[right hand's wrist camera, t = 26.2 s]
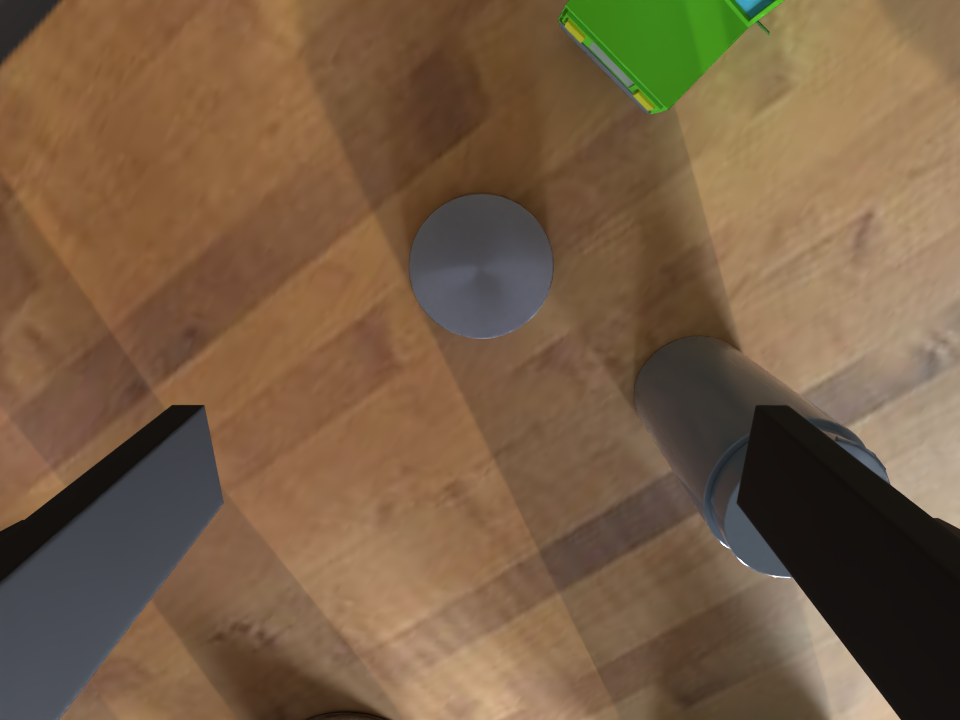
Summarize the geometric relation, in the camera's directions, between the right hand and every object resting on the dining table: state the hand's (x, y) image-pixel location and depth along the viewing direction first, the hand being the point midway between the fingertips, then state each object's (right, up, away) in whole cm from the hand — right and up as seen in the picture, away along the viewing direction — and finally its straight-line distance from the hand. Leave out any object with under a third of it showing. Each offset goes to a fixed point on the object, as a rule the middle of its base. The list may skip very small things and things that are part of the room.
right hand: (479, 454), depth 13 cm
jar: (+16, 0, +28) cm, 32 cm away
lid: (0, +8, +23) cm, 24 cm away
